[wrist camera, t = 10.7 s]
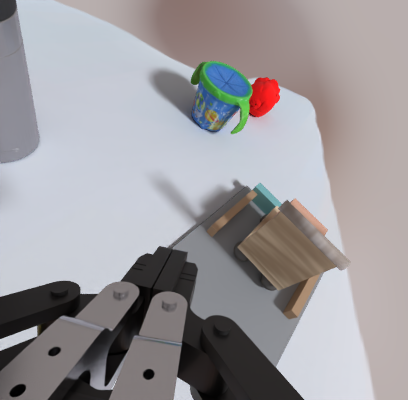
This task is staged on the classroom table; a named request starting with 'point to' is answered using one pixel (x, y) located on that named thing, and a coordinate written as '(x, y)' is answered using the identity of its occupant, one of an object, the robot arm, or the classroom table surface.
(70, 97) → the classroom table surface
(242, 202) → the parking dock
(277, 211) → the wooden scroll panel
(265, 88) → the flower
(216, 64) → the snack cup
